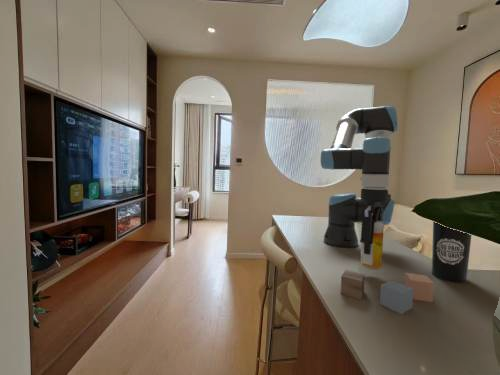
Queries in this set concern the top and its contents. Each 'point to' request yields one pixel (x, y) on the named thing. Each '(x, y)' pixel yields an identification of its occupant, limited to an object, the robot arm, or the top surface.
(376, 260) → the beer can
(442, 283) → the top surface
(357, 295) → the walnut cube
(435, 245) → the water bottle
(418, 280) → the terracotta cube
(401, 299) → the slate blue cube
